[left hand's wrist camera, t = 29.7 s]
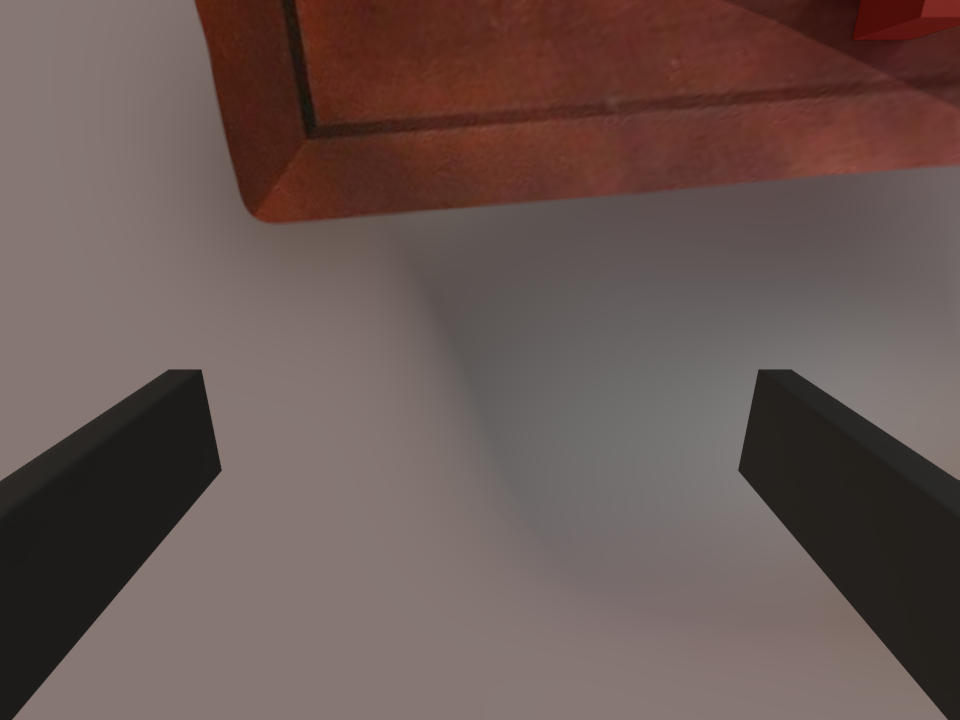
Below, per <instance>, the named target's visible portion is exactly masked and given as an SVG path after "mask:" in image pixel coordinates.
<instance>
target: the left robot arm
mask: <svg viewBox="0 0 960 720" xmlns="http://www.w3.org/2000/svg"><path fill="white" fill-rule="evenodd" d="M221 471H222V469H221V465H220V459H219V455H218V449H217V445H216V440H215V435H214V430H213V425H212V420H211V415H210V410H209V405H208V400H207V395H206V390H205V385H204V380H203V375H202V370H168V371H166V372H164V373H163V374H161V375H160V376H158V377H157V378H155V379H154V380H152V381H151V382H149V383H148V384H146V385H145V386H143V387H142V388H140V389H139V390H137V391H136V392H134V393H133V394H131V395H130V396H128V397H127V398H125V399H124V400H122V401H121V402H119V403H118V404H116V405H115V406H113V407H112V408H110V409H109V410H107V411H106V412H104V413H103V414H101V415H100V416H98V417H97V418H95V419H94V420H92V421H91V422H89V423H87V424H86V425H84V426H83V427H81V428H80V429H78V430H77V431H75V432H74V433H72V434H71V435H69V436H68V437H66V438H65V439H63V440H62V441H60V442H59V443H57V444H56V445H54V446H53V447H51V448H50V449H48V450H47V451H45V452H44V453H42V454H41V455H39V456H38V457H36V458H35V459H33V460H32V461H30V462H29V463H27V464H26V465H24V466H23V467H21V468H20V469H18V470H17V471H15V472H13V473H12V474H10V475H9V476H8V477H6V478H4V479H3V480H1V481H0V720H12V719H13V718H14V717H15V716H16V714H17V713H18V712H19V711H20V710H21V708H22V707H23V706H24V705H25V704H26V702H27V701H28V700H29V699H30V698H31V696H32V695H33V694H34V693H35V692H36V691H37V689H38V688H39V687H40V686H41V685H42V683H43V682H44V681H45V680H46V679H47V677H48V676H49V675H50V674H51V673H52V672H53V670H54V669H55V668H56V667H57V666H58V664H59V663H60V662H61V661H62V660H63V658H64V657H65V656H66V655H67V654H68V653H69V651H70V650H71V649H72V648H73V647H74V645H75V644H76V643H77V642H78V641H79V639H80V638H81V637H82V636H83V635H84V633H85V632H86V631H87V630H88V629H89V628H90V626H91V625H92V624H93V623H94V622H95V620H96V619H97V618H98V617H99V616H100V614H101V613H102V612H103V611H104V610H105V609H106V607H107V606H108V605H109V604H110V603H111V601H112V600H113V599H114V598H115V597H116V595H117V594H118V593H119V592H120V591H121V590H122V588H123V587H124V586H125V585H126V584H127V582H128V581H129V580H130V579H131V578H132V576H133V575H134V574H135V573H136V572H137V571H138V569H139V568H140V567H141V566H142V565H143V563H144V562H145V561H146V560H147V559H148V557H149V556H150V555H151V554H152V553H153V552H154V550H155V549H156V548H157V547H158V546H159V544H160V543H161V542H162V541H163V540H164V538H165V537H166V536H167V535H168V534H169V532H170V531H171V530H172V529H173V528H174V527H175V525H176V524H177V523H178V522H179V521H180V519H181V518H182V517H183V516H184V515H185V513H186V512H187V511H188V510H189V509H190V508H191V506H192V505H193V504H194V503H195V502H196V500H197V499H198V498H199V497H200V496H201V494H202V493H203V492H204V491H205V490H206V489H207V487H208V486H209V485H210V484H211V483H212V481H213V480H214V479H215V478H216V477H217V475H218V474H219V473H220V472H221ZM738 471H739V472H740V473H741V474H742V475H743V477H744V478H745V479H746V480H747V481H748V483H749V484H750V485H751V486H752V487H753V489H754V490H755V491H756V492H757V493H758V494H759V496H760V497H761V498H762V499H763V500H764V502H765V503H766V504H767V505H768V506H769V508H770V509H771V510H772V511H773V512H774V513H775V515H776V516H777V517H778V518H779V519H780V521H781V522H782V523H783V524H784V525H785V527H786V528H787V529H788V530H789V531H790V532H791V534H792V535H793V536H794V537H795V538H796V540H797V541H798V542H799V543H800V544H801V546H802V547H803V548H804V549H805V550H806V551H807V553H808V554H809V555H810V556H811V557H812V559H813V560H814V561H815V562H816V563H817V565H818V566H819V567H820V568H821V569H822V571H823V572H824V573H825V574H826V575H827V576H828V578H829V579H830V580H831V581H832V582H833V584H834V585H835V586H836V587H837V588H838V589H839V591H840V592H841V593H842V594H843V595H844V597H845V598H846V599H847V600H848V601H849V603H850V604H851V605H852V606H853V607H854V609H855V610H856V611H857V612H858V613H859V615H860V616H861V617H862V618H863V619H864V620H865V622H866V623H867V624H868V625H869V626H870V628H871V629H872V630H873V631H874V632H875V634H876V635H877V636H878V637H879V638H880V639H881V641H882V642H883V643H884V644H885V645H886V647H887V648H888V649H889V650H890V651H891V653H892V654H893V655H894V656H895V657H896V658H897V660H898V661H899V662H900V663H901V664H902V666H903V667H904V668H905V669H906V670H907V672H908V673H909V674H910V675H911V676H912V677H913V679H914V680H915V681H916V682H917V683H918V685H919V686H920V687H921V688H922V689H923V691H924V692H925V693H926V694H927V695H928V696H929V698H930V699H931V700H932V701H933V702H934V704H935V705H936V706H937V707H938V708H939V709H940V711H941V712H942V713H943V714H944V716H945V717H946V718H947V719H948V720H960V480H957V479H956V478H954V477H952V476H951V475H950V474H948V473H946V472H945V471H943V470H942V469H940V468H939V467H937V466H936V465H934V464H933V463H931V462H930V461H928V460H927V459H925V458H924V457H922V456H921V455H919V454H918V453H916V452H915V451H913V450H912V449H910V448H909V447H907V446H906V445H904V444H903V443H901V442H900V441H898V440H897V439H895V438H894V437H892V436H891V435H889V434H888V433H886V432H885V431H883V430H882V429H880V428H879V427H877V426H876V425H874V424H873V423H871V422H869V421H868V420H866V419H865V418H863V417H862V416H860V415H859V414H857V413H856V412H854V411H853V410H851V409H850V408H848V407H847V406H845V405H844V404H842V403H841V402H839V401H838V400H836V399H835V398H833V397H832V396H830V395H829V394H827V393H826V392H824V391H823V390H821V389H820V388H818V387H817V386H815V385H814V384H812V383H811V382H809V381H808V380H806V379H805V378H803V377H802V376H800V375H799V374H797V373H795V372H794V371H792V370H758V375H757V380H756V385H755V390H754V395H753V400H752V405H751V410H750V415H749V420H748V425H747V430H746V435H745V440H744V444H743V449H742V454H741V460H740V464H739V469H738Z"/></svg>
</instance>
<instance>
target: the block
mask: <svg viewBox="0 0 960 720" xmlns="http://www.w3.org/2000/svg"><path fill="white" fill-rule="evenodd" d="M958 25H960V0H861V1H860V6H859V11H858V15H857V20H856V25H855V29H854V34H853V39H852V40H910V39H913V38H917V37H920V36H923V35H927V34H930V33H934V32H937V31H941V30H944V29H948V28H951V27H955V26H958Z"/></svg>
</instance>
